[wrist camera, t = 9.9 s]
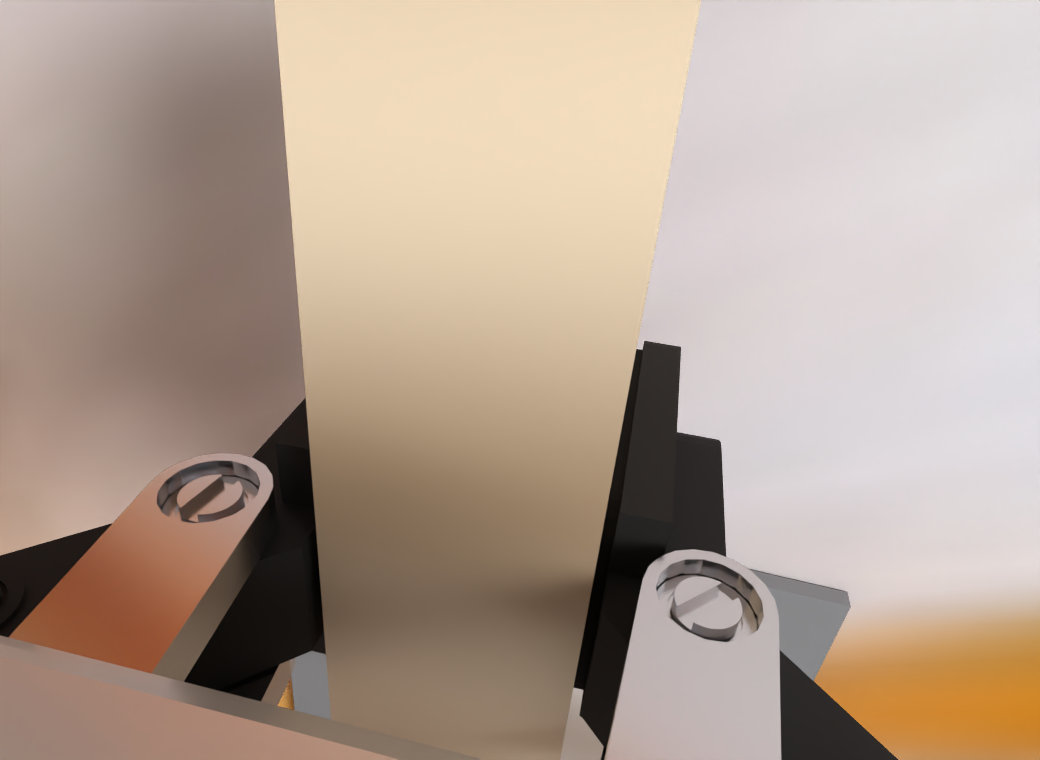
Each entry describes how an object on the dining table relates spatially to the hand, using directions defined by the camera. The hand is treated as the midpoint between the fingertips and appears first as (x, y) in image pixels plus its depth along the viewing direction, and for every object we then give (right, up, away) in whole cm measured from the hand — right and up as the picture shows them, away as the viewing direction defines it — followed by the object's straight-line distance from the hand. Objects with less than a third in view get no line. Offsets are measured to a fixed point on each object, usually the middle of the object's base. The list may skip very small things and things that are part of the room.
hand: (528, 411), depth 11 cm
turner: (0, -1, +1) cm, 2 cm away
